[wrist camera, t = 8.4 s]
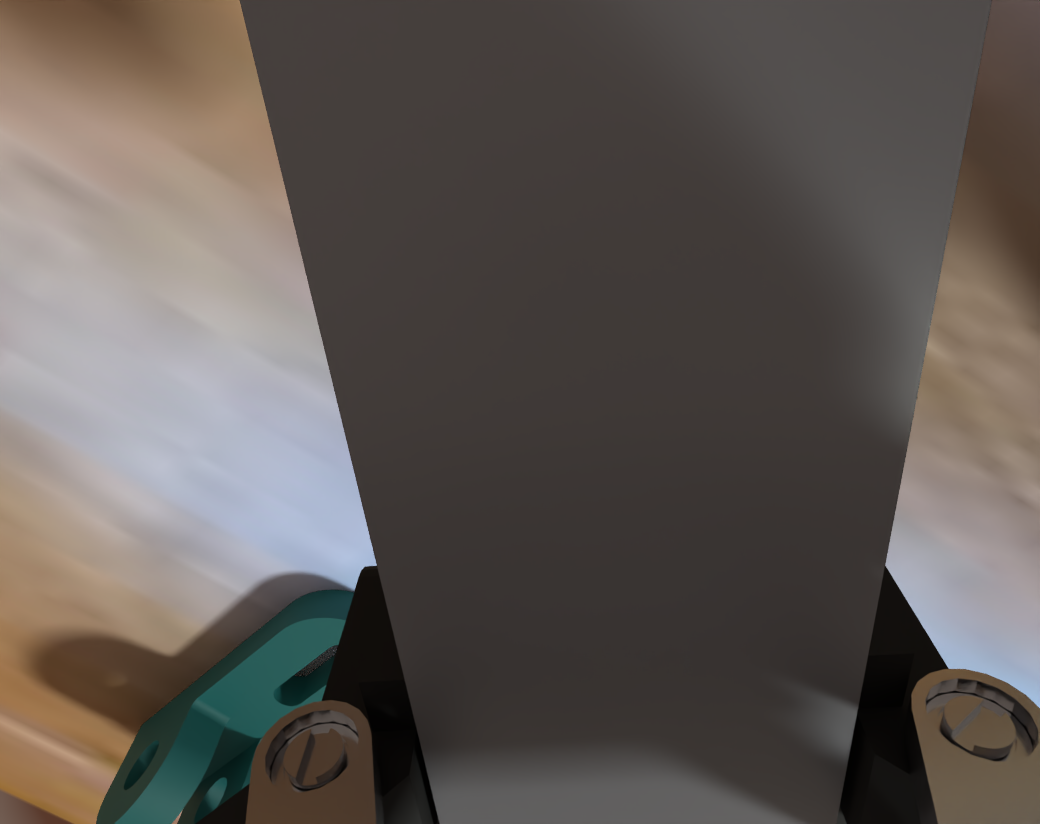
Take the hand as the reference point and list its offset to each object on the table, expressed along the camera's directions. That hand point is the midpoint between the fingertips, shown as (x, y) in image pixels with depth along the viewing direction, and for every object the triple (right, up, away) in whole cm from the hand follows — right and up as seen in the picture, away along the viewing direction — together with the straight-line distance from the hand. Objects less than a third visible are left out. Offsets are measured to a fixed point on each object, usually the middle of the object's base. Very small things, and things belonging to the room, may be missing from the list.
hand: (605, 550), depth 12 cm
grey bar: (0, +1, +2) cm, 3 cm away
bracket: (-16, -13, +32) cm, 38 cm away
